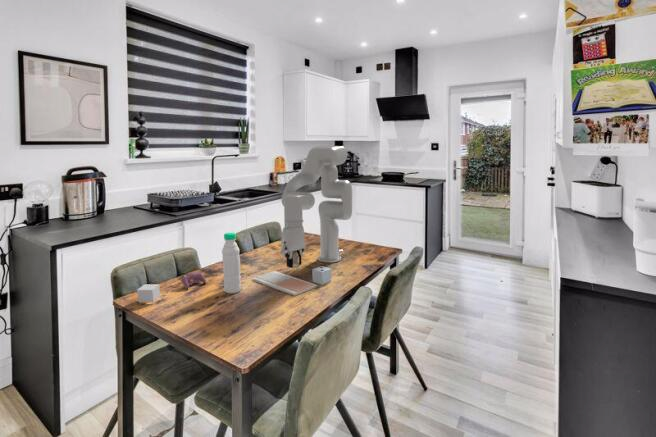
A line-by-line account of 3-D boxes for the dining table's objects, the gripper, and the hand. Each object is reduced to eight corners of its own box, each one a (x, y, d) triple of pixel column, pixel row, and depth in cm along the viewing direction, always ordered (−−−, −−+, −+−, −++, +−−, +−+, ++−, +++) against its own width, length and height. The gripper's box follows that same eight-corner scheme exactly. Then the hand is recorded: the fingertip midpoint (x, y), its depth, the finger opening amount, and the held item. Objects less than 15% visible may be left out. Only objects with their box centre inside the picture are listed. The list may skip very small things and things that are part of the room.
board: (274, 272, 186) (274, 270, 186) (316, 286, 168) (316, 284, 168) (252, 280, 177) (252, 277, 176) (295, 295, 159) (295, 293, 159)
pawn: (294, 264, 169) (294, 248, 168) (301, 266, 166) (301, 250, 165) (286, 266, 166) (286, 250, 165) (293, 268, 163) (293, 252, 162)
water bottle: (224, 294, 160) (220, 236, 155) (224, 288, 167) (220, 232, 162) (241, 293, 162) (239, 234, 157) (240, 286, 169) (238, 230, 164)
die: (321, 278, 179) (321, 265, 178) (331, 281, 175) (331, 268, 174) (312, 281, 175) (312, 268, 174) (322, 285, 171) (322, 271, 170)
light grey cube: (160, 298, 157) (159, 284, 156) (153, 304, 151) (152, 289, 150) (145, 298, 157) (144, 284, 156) (138, 304, 151) (137, 289, 150)
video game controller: (202, 285, 175) (197, 270, 176) (208, 283, 172) (202, 268, 173) (183, 291, 167) (177, 276, 168) (188, 289, 164) (182, 274, 165)
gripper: (301, 219, 171) (301, 259, 175) (272, 225, 159) (273, 268, 162) (313, 222, 166) (314, 263, 170) (284, 228, 154) (285, 272, 157)
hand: (294, 265), depth 166 cm, fingers closed on pawn, 4 cm apart
